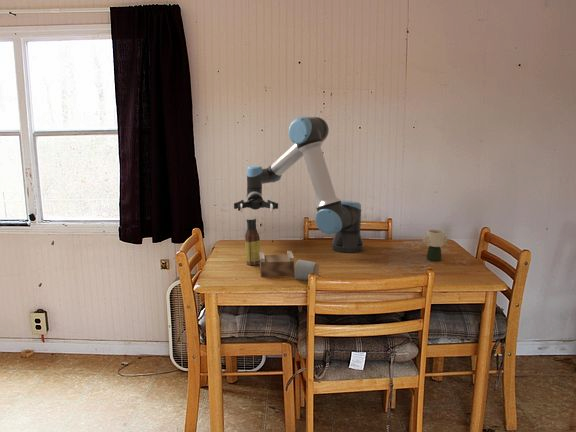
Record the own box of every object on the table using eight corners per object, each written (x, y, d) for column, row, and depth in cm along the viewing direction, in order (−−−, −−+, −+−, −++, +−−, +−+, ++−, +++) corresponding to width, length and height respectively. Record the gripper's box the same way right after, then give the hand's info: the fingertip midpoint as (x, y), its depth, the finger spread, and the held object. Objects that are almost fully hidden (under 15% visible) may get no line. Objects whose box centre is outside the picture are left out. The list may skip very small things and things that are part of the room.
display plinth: (290, 268, 203) (291, 250, 201) (293, 275, 193) (293, 257, 192) (259, 269, 201) (259, 251, 200) (261, 276, 192) (260, 258, 190)
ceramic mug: (314, 283, 184) (315, 264, 183) (294, 281, 186) (294, 262, 185) (320, 275, 194) (321, 257, 193) (301, 273, 196) (301, 255, 195)
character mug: (441, 257, 220) (443, 229, 217) (449, 261, 213) (451, 232, 210) (418, 258, 218) (420, 229, 215) (425, 262, 211) (427, 233, 209)
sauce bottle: (262, 262, 211) (262, 217, 207) (257, 266, 205) (256, 220, 201) (248, 260, 213) (248, 216, 209) (243, 264, 207) (242, 219, 203)
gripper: (280, 208, 238) (284, 217, 218) (229, 208, 236) (228, 217, 215) (280, 193, 237) (284, 201, 216) (229, 193, 234) (228, 201, 213)
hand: (256, 209), depth 215 cm, fingers open, 13 cm apart
